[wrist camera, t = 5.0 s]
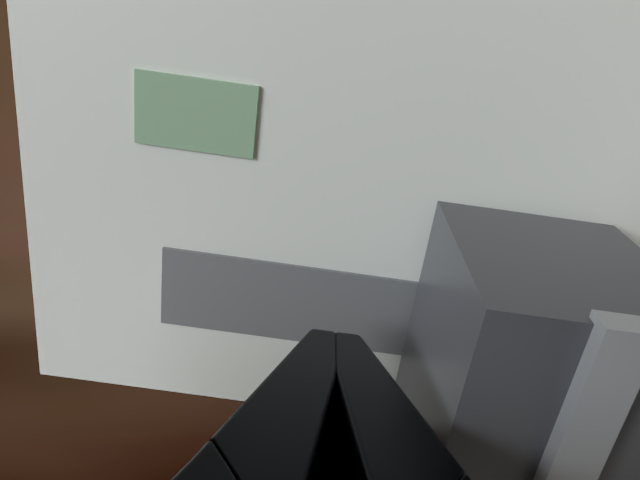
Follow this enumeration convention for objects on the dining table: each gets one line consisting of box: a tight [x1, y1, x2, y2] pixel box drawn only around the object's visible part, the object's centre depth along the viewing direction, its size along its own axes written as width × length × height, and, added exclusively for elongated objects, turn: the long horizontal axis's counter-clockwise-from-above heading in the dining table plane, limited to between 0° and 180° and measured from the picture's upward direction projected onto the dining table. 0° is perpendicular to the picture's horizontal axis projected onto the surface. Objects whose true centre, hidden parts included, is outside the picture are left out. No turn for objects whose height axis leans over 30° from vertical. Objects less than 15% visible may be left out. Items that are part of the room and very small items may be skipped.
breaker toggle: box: [396, 201, 640, 480], centre depth 9 cm, size 5×3×4 cm, turn 172°
